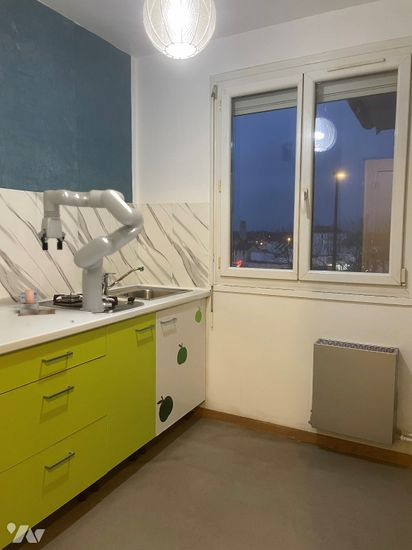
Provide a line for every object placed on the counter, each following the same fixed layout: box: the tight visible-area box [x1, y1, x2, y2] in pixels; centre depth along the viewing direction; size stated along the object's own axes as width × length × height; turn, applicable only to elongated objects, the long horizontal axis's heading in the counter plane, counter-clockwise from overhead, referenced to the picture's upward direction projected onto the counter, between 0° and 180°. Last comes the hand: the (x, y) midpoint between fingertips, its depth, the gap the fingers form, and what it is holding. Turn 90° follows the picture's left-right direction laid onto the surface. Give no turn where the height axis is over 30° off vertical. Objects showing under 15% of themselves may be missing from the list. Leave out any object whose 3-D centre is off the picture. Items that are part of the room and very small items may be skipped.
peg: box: [24, 289, 35, 304], centre depth 196 cm, size 4×4×10 cm
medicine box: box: [19, 291, 38, 303], centre depth 210 cm, size 8×4×9 cm, turn 112°
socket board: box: [17, 301, 56, 317], centre depth 195 cm, size 16×14×5 cm
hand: (52, 250), depth 206 cm, fingers open, 9 cm apart
